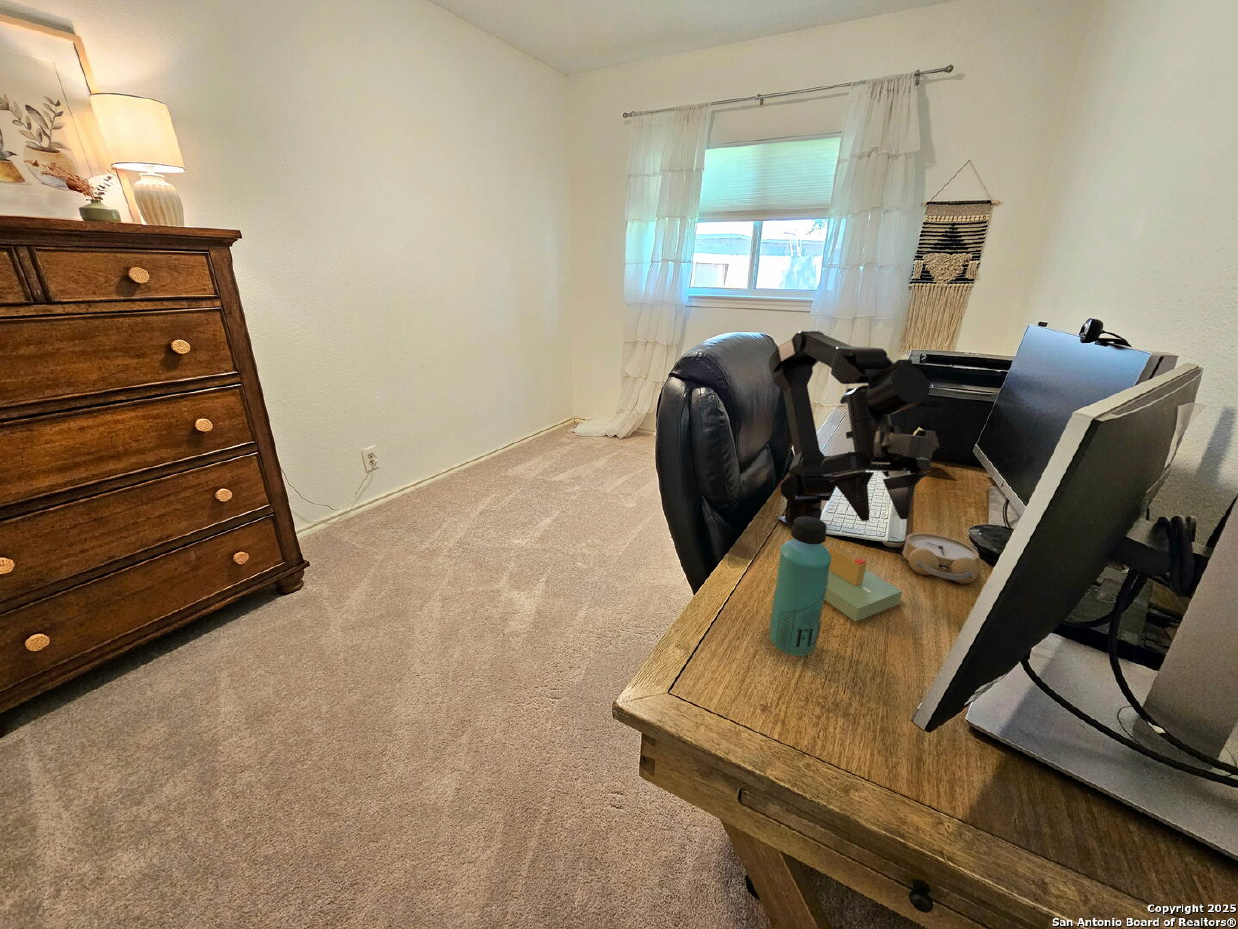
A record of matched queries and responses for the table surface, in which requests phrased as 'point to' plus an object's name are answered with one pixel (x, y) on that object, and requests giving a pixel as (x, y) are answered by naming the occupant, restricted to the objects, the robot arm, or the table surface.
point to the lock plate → (861, 595)
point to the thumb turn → (847, 565)
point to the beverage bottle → (800, 588)
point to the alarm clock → (941, 557)
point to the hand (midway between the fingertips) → (885, 520)
